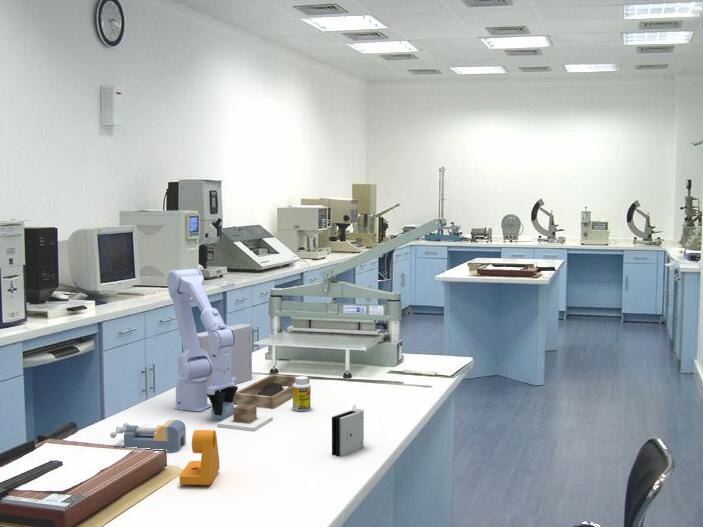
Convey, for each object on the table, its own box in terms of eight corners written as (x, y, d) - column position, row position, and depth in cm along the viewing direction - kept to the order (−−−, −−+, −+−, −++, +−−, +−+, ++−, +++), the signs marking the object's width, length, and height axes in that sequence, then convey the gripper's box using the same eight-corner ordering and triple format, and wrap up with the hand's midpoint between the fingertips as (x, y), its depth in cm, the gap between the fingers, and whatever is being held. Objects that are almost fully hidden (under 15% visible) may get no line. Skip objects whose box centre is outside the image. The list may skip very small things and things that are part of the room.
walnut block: (233, 421, 236) (233, 407, 235) (241, 416, 240) (241, 403, 240) (248, 422, 234) (248, 409, 234) (256, 418, 239) (256, 405, 238)
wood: (273, 405, 258) (273, 396, 258) (250, 404, 260) (250, 394, 259) (290, 388, 280) (290, 380, 280) (270, 387, 282) (269, 379, 281)
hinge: (353, 440, 222) (353, 404, 221) (370, 443, 219) (371, 407, 218) (329, 455, 209) (329, 417, 208) (347, 458, 207) (347, 420, 206)
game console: (254, 379, 292) (253, 325, 291) (202, 395, 269) (201, 336, 268) (242, 377, 295) (241, 323, 294) (189, 393, 273) (188, 335, 271)
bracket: (190, 471, 197) (189, 423, 196) (219, 471, 197) (218, 424, 196) (178, 487, 186) (177, 437, 185) (209, 488, 186) (208, 437, 185)
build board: (217, 426, 234) (217, 423, 234) (237, 415, 245) (237, 412, 245) (254, 431, 229) (253, 427, 229) (272, 419, 241) (272, 416, 241)
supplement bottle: (298, 413, 248) (298, 380, 247) (289, 408, 253) (289, 376, 252) (313, 410, 251) (313, 378, 250) (305, 406, 256) (304, 374, 255)
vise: (188, 441, 221) (187, 418, 220) (176, 454, 210) (175, 429, 210) (124, 439, 222) (124, 416, 222) (109, 451, 212) (109, 427, 211)
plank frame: (232, 404, 258) (232, 393, 258) (272, 384, 285) (271, 374, 284) (273, 408, 253) (273, 397, 253) (309, 387, 280) (309, 377, 279)
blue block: (211, 418, 242) (211, 405, 242) (219, 414, 247) (219, 401, 247) (226, 420, 241) (226, 407, 240) (234, 415, 245) (233, 402, 245)
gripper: (221, 374, 234) (222, 420, 235) (245, 364, 248) (245, 407, 249) (200, 372, 237) (201, 417, 238) (225, 362, 250) (225, 405, 251)
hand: (222, 412), depth 244 cm, fingers closed on blue block, 5 cm apart
